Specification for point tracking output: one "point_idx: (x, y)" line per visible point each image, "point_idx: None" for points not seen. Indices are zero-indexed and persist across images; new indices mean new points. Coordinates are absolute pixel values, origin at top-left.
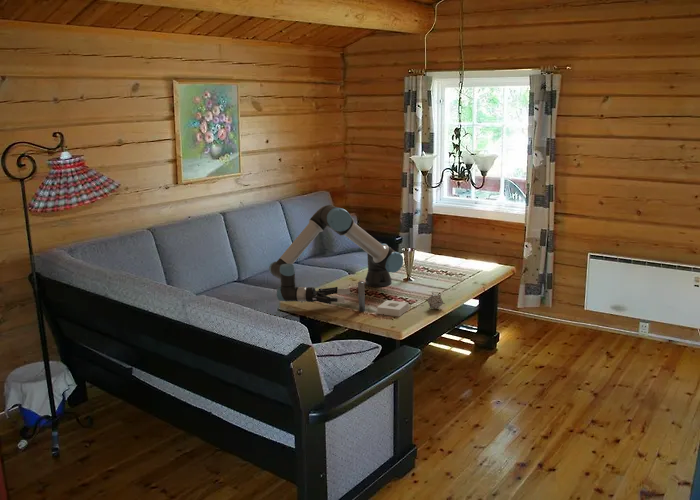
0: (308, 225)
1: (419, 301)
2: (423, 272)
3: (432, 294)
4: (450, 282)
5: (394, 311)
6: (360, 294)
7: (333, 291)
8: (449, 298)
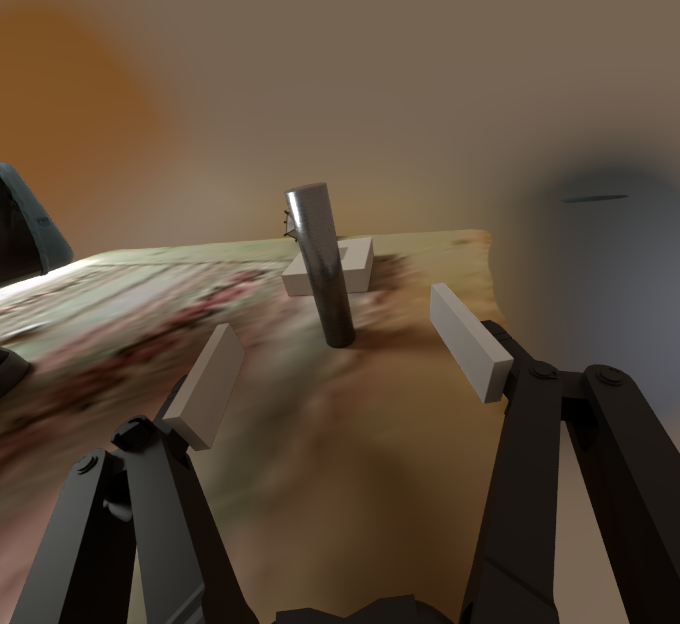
0: None
1: (250, 267)
2: None
3: (289, 213)
4: (130, 272)
5: (371, 249)
6: (340, 258)
7: (185, 479)
8: (240, 248)
